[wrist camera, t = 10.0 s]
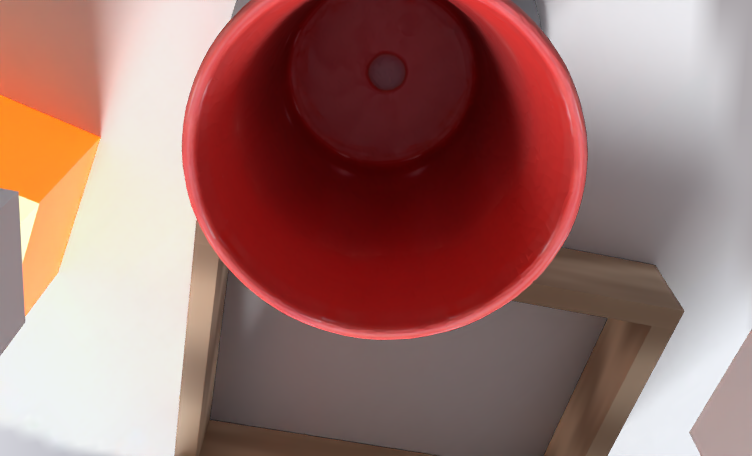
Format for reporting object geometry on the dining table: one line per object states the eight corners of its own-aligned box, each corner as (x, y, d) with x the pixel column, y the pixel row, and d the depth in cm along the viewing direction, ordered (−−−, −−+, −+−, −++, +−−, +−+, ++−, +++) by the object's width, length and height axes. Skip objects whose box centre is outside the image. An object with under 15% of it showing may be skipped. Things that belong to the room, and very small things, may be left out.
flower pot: (512, -113, 23) (585, -86, 15) (532, 177, 29) (594, 318, 20) (210, -56, 24) (118, 0, 16) (283, 214, 30) (243, 365, 21)
